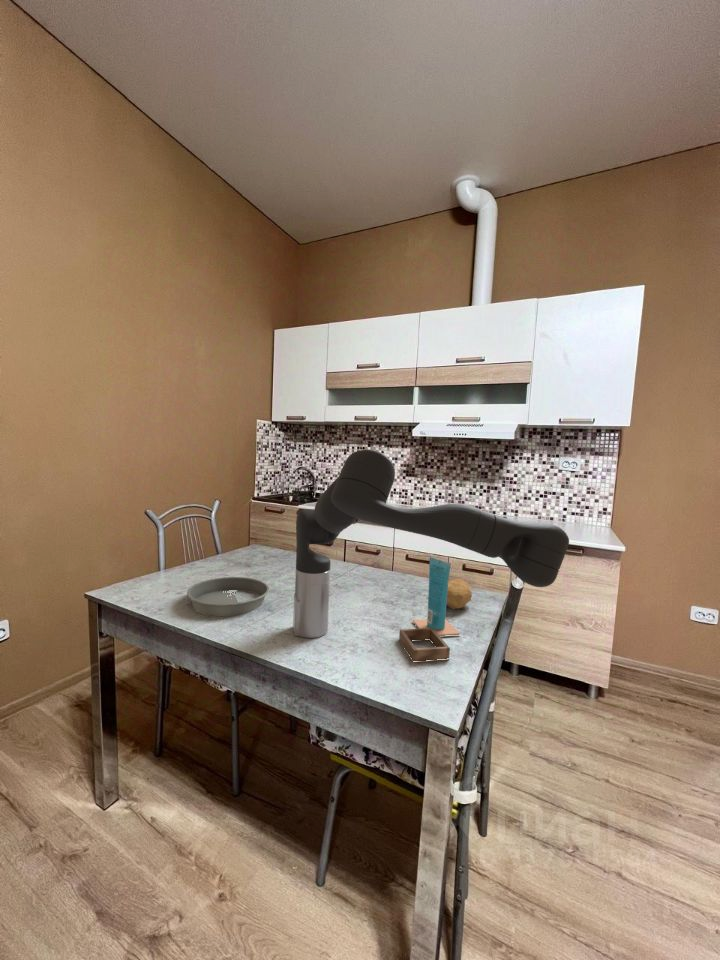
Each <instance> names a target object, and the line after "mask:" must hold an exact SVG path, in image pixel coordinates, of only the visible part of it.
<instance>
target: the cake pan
mask: <svg viewBox="0 0 720 960" xmlns="http://www.w3.org/2000/svg"><path fill="white" fill-rule="evenodd" d="M229 590H242V592H249V591H250V593H253V594H256V595H257V597H255V598H252V599H249V600H244V601H243V600H242V601H239V600H238V599H237V597H236V594H237V593H236V592H235V595H233V594H234V592H232V593H233V594H232V593H231V595H232V596H229V595H230V593H227V591H229ZM223 591H224V593H223ZM225 591H226V593H225ZM269 592H270V586H269V585H268V584H267V582H265V581H262V580H260V579H257V578H254V577H244V576H226V577H225V576H223V577H216V578H210V579H206V580H203V581H200V582H197V583H196V584H194V585H191V586H190V587H189V588H188V590H187V591H186V596H187V597H188V599H189V600H191V605H192V606H191V607H192V608H193V610H195V611H196V610H197V611H198V613H200V612H201V613H200V614H202V613H204V614H203V615H206V614H207V615H208V616H213V615H214V617H215V616H217V617H218V616H219V617H225V616H226V617H229V616H237V615H242V614H247V613H249V612H252V611H254V610H257V609H259V608H260V607H261V606H262V605H263V603H265V598H266V596H267V595H268V594H269ZM227 595H228V597H227ZM231 598H232V599H231ZM197 611H196V612H197Z"/></svg>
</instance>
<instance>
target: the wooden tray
mask: <svg viewBox="0 0 720 960" xmlns="http://www.w3.org/2000/svg"><path fill="white" fill-rule="evenodd" d="M398 637H399V638H398V641H399V643H400V642H401V643H400V644H401V645H403V646H402V648H403V649H404V648H405V649H404V651H405V652H406V651H407V652H408V653H407V652H406V653H407V655H408V654H409V655H410V656H409V655H408V656H409V658H410V657H411V658H412V660H413V661H426V660H437V659H447V658H449V659H450V651H451V648H450V646H449V645H448V644H447V643H446V642H445V641H444V640H443V639H442V637H440V636H439V635H438V634H437V633H436V632H435V631H434V629H433V628H420V629H418V628H405V629H404V628H403V629H402V628H401V629H399V636H398ZM425 639H430V640H431V641H432V642H433V644H434V645H435V646H436V647H435V646H434V645H433V644H432V645H433V647H418V648H416V646H415V645H414V643H413V641H412V640H425ZM430 640H429V641H430ZM425 641H426V640H425ZM431 641H430V642H431ZM432 642H431V643H432ZM411 658H410V659H411ZM412 660H411V661H412ZM413 661H412V662H413Z"/></svg>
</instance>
